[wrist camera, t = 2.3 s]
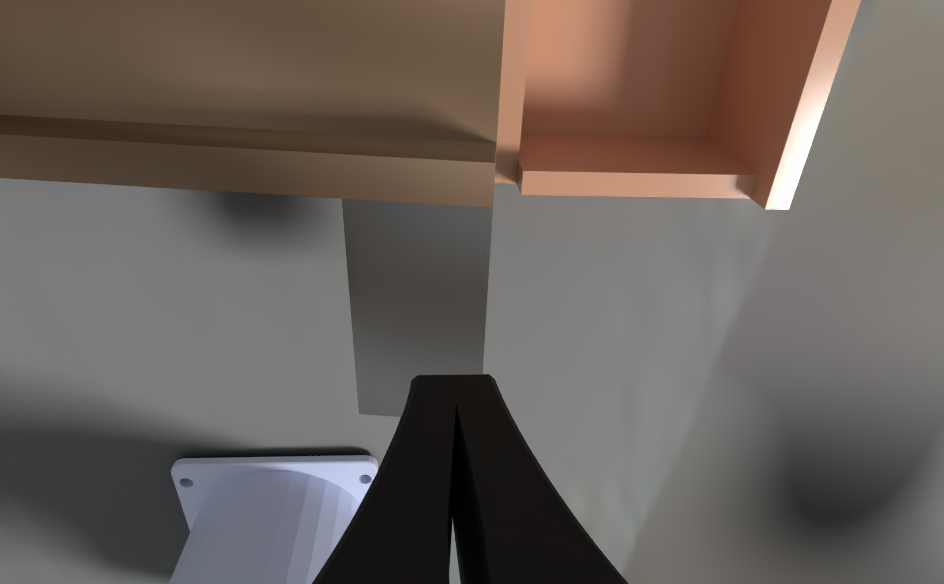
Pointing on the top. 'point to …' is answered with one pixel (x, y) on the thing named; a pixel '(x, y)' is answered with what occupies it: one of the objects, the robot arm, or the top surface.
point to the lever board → (289, 138)
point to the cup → (665, 95)
